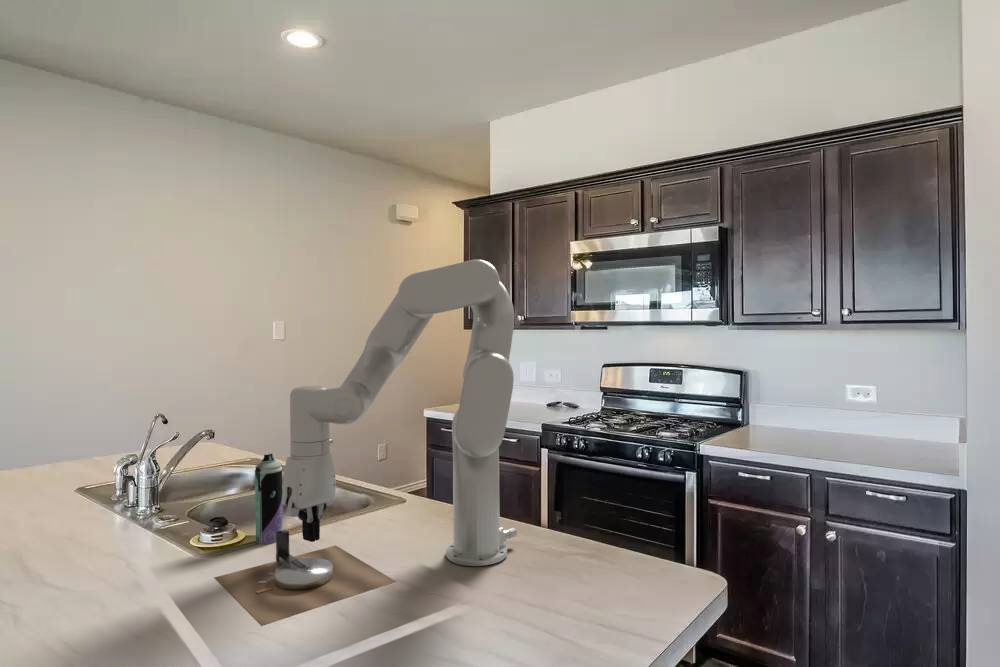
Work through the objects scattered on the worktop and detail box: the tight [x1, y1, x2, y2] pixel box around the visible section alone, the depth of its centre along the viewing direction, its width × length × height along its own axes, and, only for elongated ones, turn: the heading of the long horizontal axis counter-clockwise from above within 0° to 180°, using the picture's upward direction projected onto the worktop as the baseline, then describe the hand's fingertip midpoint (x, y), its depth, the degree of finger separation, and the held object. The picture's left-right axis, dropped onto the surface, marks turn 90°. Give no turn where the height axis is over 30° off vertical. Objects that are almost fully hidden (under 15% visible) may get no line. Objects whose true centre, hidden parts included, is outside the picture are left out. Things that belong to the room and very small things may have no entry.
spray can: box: [254, 453, 284, 545], centre depth 132 cm, size 6×6×20 cm
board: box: [214, 545, 397, 627], centre depth 111 cm, size 24×24×2 cm
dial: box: [275, 530, 333, 590], centre depth 113 cm, size 16×10×6 cm, turn 41°
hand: (311, 539), depth 122 cm, fingers closed
